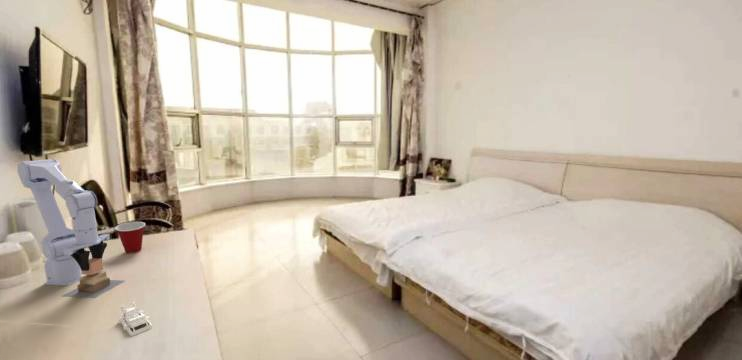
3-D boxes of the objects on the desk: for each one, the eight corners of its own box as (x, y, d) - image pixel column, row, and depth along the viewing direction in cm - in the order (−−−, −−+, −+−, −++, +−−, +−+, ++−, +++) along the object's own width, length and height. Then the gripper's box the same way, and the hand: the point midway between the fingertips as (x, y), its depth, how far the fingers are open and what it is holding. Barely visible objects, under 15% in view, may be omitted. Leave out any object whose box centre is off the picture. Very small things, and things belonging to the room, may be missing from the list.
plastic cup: (121, 258, 141) (117, 230, 139) (115, 251, 148) (112, 225, 146) (151, 250, 149) (148, 224, 147) (144, 244, 156) (141, 219, 154)
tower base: (78, 291, 112) (77, 284, 112) (94, 283, 118) (93, 276, 117) (94, 292, 111) (93, 285, 111) (110, 284, 117) (109, 277, 117)
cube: (92, 274, 111) (91, 263, 111) (81, 274, 112) (80, 262, 111) (103, 269, 115) (101, 258, 115) (92, 269, 116) (91, 258, 115)
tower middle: (80, 284, 112) (78, 277, 112) (93, 277, 117) (92, 270, 116) (93, 285, 112) (92, 277, 111) (106, 278, 116) (105, 271, 116)
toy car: (129, 338, 89) (127, 323, 88) (116, 321, 96) (114, 307, 96) (155, 327, 93) (153, 313, 93) (141, 312, 101) (139, 298, 100)
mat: (61, 296, 109) (61, 296, 109) (94, 279, 121) (94, 279, 121) (94, 298, 108) (94, 297, 108) (125, 281, 120) (125, 280, 120)
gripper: (75, 236, 104) (82, 277, 106) (115, 222, 118) (120, 259, 120) (54, 235, 104) (61, 276, 107) (97, 221, 119) (102, 258, 121)
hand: (91, 267), depth 113 cm, fingers closed on cube, 4 cm apart
